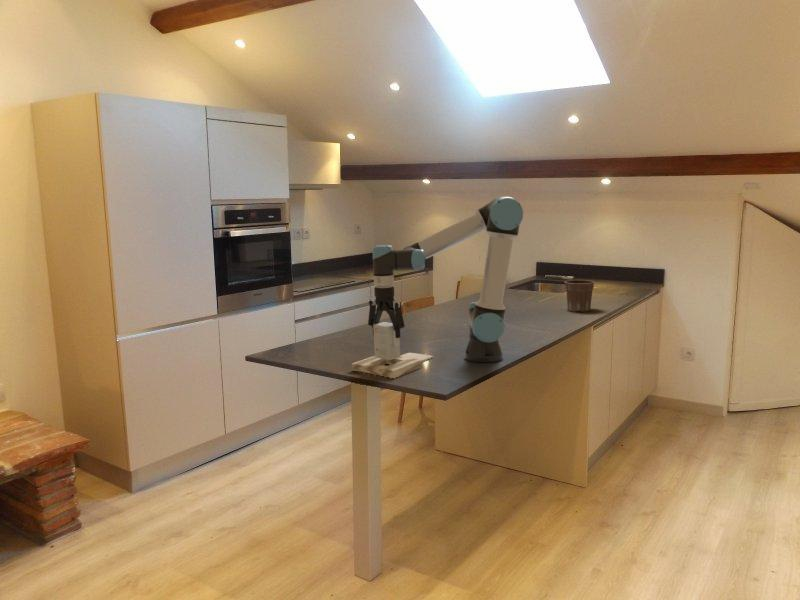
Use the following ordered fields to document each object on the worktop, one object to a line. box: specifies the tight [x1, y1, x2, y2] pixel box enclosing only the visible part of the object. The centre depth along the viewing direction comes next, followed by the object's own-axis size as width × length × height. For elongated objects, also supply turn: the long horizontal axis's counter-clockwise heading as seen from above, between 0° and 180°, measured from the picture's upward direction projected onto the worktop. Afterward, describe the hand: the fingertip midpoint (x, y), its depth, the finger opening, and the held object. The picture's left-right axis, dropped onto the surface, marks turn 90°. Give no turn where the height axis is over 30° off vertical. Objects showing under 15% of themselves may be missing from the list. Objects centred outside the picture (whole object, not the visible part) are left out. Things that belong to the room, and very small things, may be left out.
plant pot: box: [564, 279, 596, 313], centre depth 347 cm, size 16×16×16 cm
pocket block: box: [351, 355, 423, 379], centre depth 241 cm, size 20×18×3 cm
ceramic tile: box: [400, 352, 434, 363], centre depth 255 cm, size 12×10×1 cm
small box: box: [372, 321, 401, 360], centre depth 239 cm, size 8×6×13 cm
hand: (386, 344), depth 240 cm, fingers closed on small box, 8 cm apart
